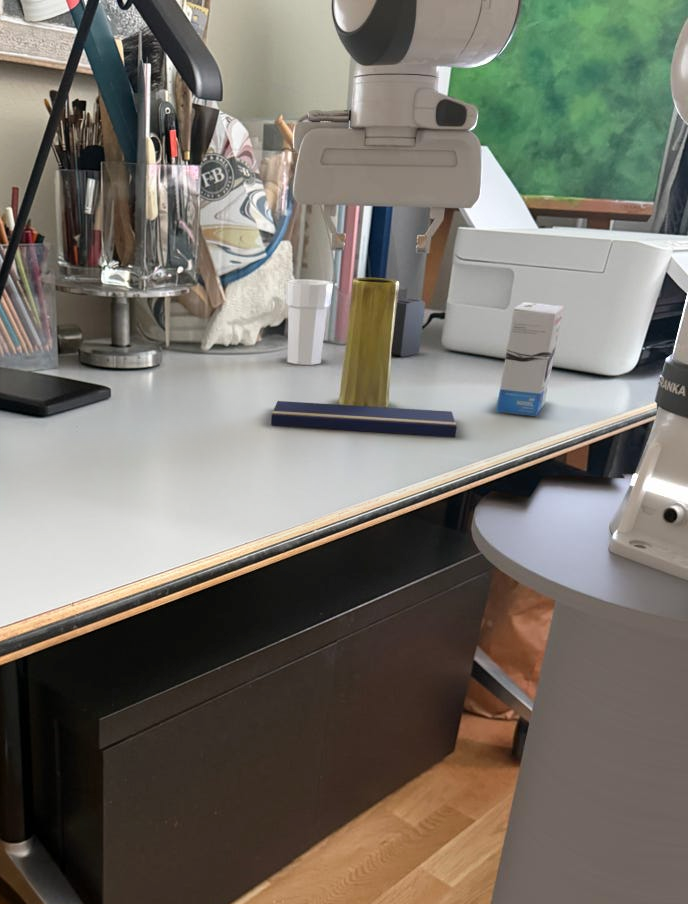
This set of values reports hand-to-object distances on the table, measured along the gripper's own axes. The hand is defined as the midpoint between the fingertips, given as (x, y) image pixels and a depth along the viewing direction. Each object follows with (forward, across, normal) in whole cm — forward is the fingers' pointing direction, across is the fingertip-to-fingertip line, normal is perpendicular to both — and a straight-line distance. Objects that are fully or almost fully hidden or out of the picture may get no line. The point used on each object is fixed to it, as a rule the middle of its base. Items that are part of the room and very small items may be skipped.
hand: (379, 251), depth 105 cm
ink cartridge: (+17, +6, +37) cm, 41 cm away
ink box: (+18, +19, +4) cm, 26 cm away
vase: (+18, 0, 0) cm, 18 cm away
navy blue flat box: (+17, 0, -9) cm, 19 cm away
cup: (+17, -9, +27) cm, 33 cm away
